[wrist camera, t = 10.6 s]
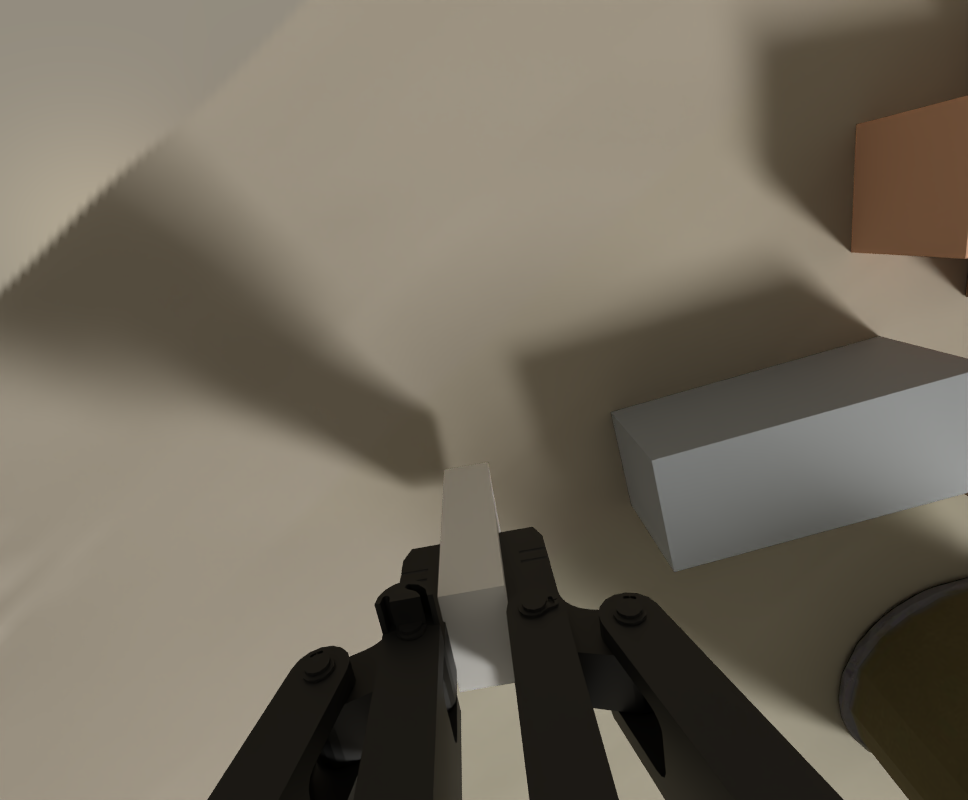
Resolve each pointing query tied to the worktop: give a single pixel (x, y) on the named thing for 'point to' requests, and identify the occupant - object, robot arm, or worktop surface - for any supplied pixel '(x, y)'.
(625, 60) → the worktop surface
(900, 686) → the canister
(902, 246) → the terracotta bar
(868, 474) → the slate bar
